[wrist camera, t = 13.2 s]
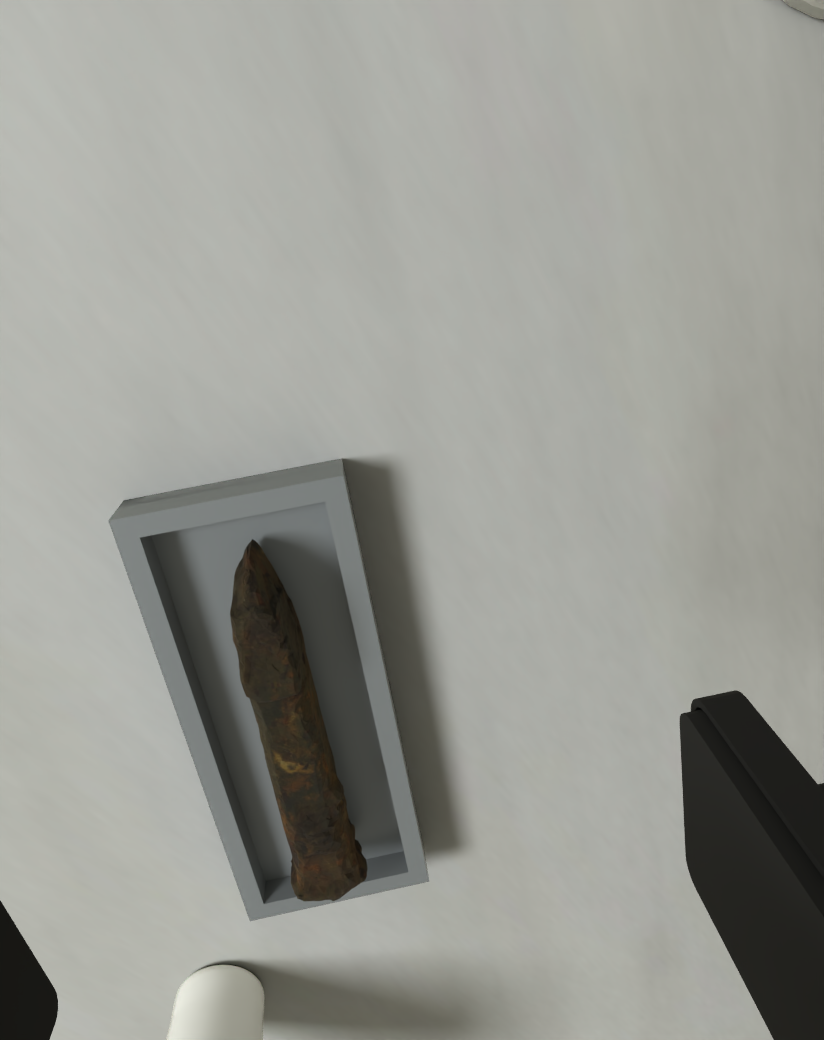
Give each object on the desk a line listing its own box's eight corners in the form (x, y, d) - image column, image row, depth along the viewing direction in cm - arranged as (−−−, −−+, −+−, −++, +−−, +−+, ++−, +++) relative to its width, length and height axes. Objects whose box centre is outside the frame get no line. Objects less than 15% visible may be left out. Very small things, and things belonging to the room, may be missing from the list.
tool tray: (342, 458, 33) (343, 475, 30) (423, 845, 42) (429, 881, 40) (123, 500, 32) (108, 520, 30) (253, 883, 41) (249, 921, 39)
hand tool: (365, 838, 40) (370, 910, 36) (293, 851, 40) (290, 925, 35) (313, 526, 33) (312, 569, 29) (225, 538, 33) (211, 584, 28)
